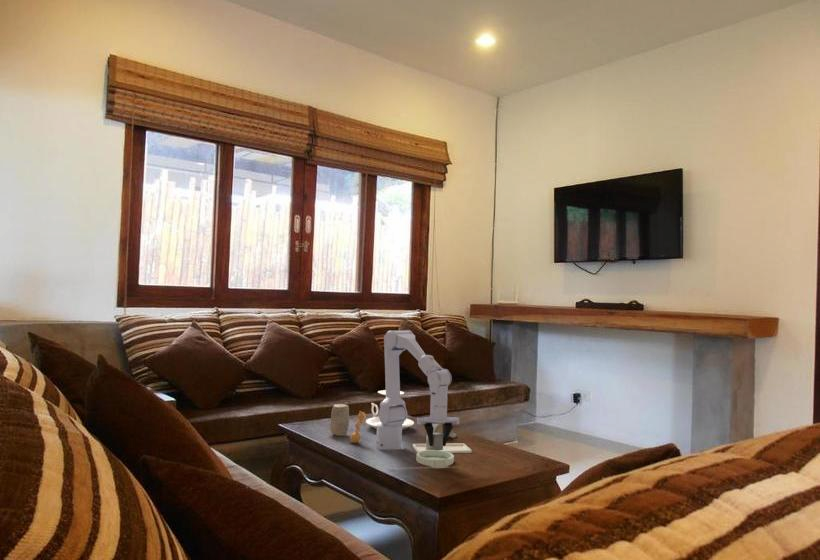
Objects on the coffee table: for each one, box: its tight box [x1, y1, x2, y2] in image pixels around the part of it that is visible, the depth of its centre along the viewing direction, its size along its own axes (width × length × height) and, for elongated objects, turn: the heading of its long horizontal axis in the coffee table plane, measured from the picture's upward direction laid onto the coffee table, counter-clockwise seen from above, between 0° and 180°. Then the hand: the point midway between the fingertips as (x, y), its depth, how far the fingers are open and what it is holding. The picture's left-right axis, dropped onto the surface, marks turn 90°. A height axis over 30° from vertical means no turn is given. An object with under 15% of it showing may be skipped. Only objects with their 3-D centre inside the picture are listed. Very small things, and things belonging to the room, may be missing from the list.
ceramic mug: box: [432, 424, 457, 439], centre depth 232 cm, size 11×8×8 cm
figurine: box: [349, 410, 368, 444], centre depth 219 cm, size 8×6×12 cm
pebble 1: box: [425, 434, 432, 450], centre depth 211 cm, size 4×4×5 cm
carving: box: [329, 403, 350, 437], centre depth 230 cm, size 6×8×12 cm
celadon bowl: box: [415, 450, 455, 469], centre depth 197 cm, size 13×13×3 cm
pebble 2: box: [431, 433, 444, 450], centre depth 195 cm, size 4×4×5 cm
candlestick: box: [365, 389, 415, 431], centre depth 245 cm, size 21×25×28 cm
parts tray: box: [412, 442, 473, 454], centre depth 212 cm, size 20×10×1 cm, turn 101°
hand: (437, 445), depth 195 cm, fingers closed on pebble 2, 4 cm apart
